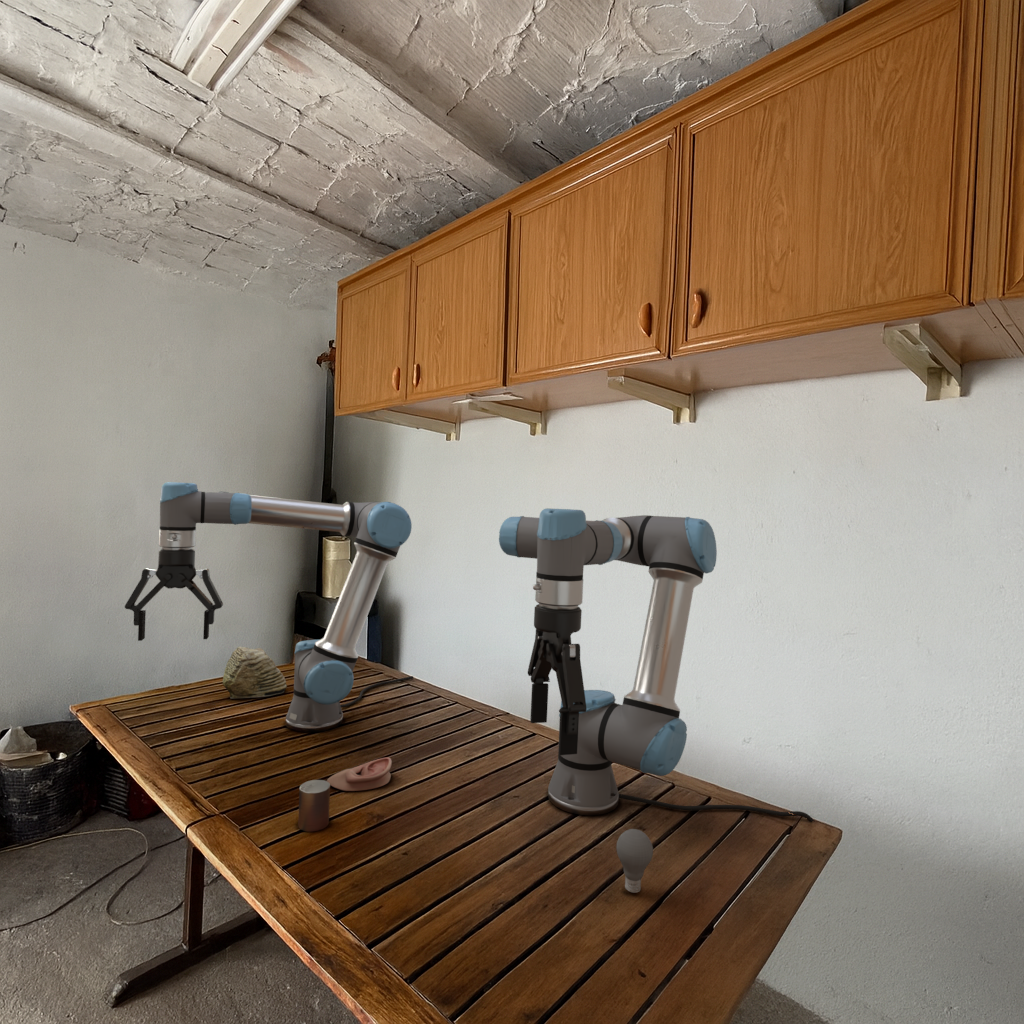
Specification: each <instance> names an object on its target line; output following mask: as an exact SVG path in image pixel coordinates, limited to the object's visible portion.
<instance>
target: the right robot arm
mask: <svg viewBox="0 0 1024 1024" xmlns="http://www.w3.org/2000/svg"><path fill="white" fill-rule="evenodd" d="M498 533H499V535H498V544H499V546H500V549H501V550H502V552H503V553H504V554H505V555H507V556H511V557H516V558H519V559H520V558H525V559H536V574H535V575H536V577H535V579H536V580H535V584H532V589H533V590H534V591H535V594H534V595H535V596H534V598H535V599H534V601H535V602H536V603H537V604H536V605H535V606H534V613H533V614H534V615H533V627H534V629H535V635H534V642H533V646H532V651H531V656H530V660H529V664H528V668H527V675H528V677H530V681H531V683H532V684H531V698H530V700H531V701H530V723H531V724H544V723H548V706H549V705H548V704H549V703H548V702H549V683H550V682H551V679H550V674H551V671H554V672H555V674H556V681H557V685H558V690H559V695H560V707H559V710H558V712H559V713H558V717H559V720H558V721H559V722H558V723H559V724H558V752H557V753H558V755H557V762H556V764H555V768H554V770H553V773H552V776H551V778H550V781H549V782H548V783H549V784H548V788H547V798H548V800H549V802H550V803H551V804H552V805H553V806H555V807H556V808H558V809H560V810H562V811H564V812H567V813H570V814H574V815H581V816H599V815H604V814H608V813H610V812H613V810H616V809H617V807H618V806H619V799H622V800H627V801H631V802H637V803H642V804H647V805H651V806H657V807H661V808H666V809H672V810H679V811H688V812H691V811H693V812H694V811H709V810H711V811H712V810H736V811H737V810H739V811H750V812H755V813H761V814H765V815H771V816H775V817H776V816H777V817H802V818H804V819H806V818H807V819H806V820H807V821H808V822H811V823H813V822H812V821H814V822H815V820H814V818H812V816H811V815H809V814H808V813H806V812H803V811H799V810H795V811H794V810H793V811H778V810H773V809H768V808H764V807H763V808H762V807H756V806H751V805H750V806H749V805H741V804H740V805H739V804H704V805H703V804H702V805H681V804H673V803H668V802H665V801H664V802H663V801H658V800H654V799H648V798H645V797H644V798H643V797H638V796H634V795H628V794H622V793H620V792H619V789H618V786H617V781H616V778H615V774H614V770H613V765H612V763H615V764H618V765H621V766H624V767H627V768H630V769H634V770H637V771H640V772H641V773H643V774H650V775H654V776H659V777H664V776H667V775H669V774H671V772H673V771H674V770H675V768H676V767H677V766H678V764H679V762H680V760H681V758H682V756H683V753H684V751H685V746H686V743H687V738H688V737H687V735H688V733H687V731H688V728H687V724H686V722H685V721H684V720H683V719H682V718H680V715H681V709H680V707H679V705H678V704H677V702H676V700H675V697H676V692H677V688H678V687H677V686H678V682H679V681H678V680H679V675H680V669H681V665H682V664H681V663H682V659H683V652H684V646H685V641H686V634H687V629H688V623H689V618H690V611H691V607H692V600H693V595H694V590H695V588H696V587H698V586H699V585H701V584H702V583H703V579H704V575H705V574H710V573H712V572H713V571H714V570H715V567H716V564H717V556H718V555H717V553H718V552H717V541H716V536H715V532H714V529H713V527H712V525H711V524H710V522H708V521H707V520H705V519H703V518H694V517H690V516H685V517H683V516H682V517H681V516H665V515H663V516H662V515H648V514H647V515H645V514H643V515H631V516H622V517H605V518H604V519H602V520H598V519H597V520H587V516H586V513H585V512H584V510H582V509H574V508H573V509H570V508H543V509H542V510H541V511H540V513H539V517H535V516H533V517H532V516H524V515H520V516H509V517H507V518H506V519H505V520H503V522H502V523H501V525H500V528H499V532H498ZM613 561H618V562H623V563H627V564H632V565H637V566H642V567H648V571H647V572H648V574H649V575H650V577H651V578H652V580H653V583H652V589H651V593H650V597H649V598H650V599H649V603H648V607H647V608H648V609H647V614H646V618H645V624H644V631H643V635H642V641H641V646H640V650H639V656H638V660H637V667H636V672H635V676H634V682H633V688H632V689H631V690H630V691H629V692H628V693H626V694H625V695H624V696H623V699H622V704H619V703H616V700H617V699H616V696H615V694H614V693H612V692H611V691H608V690H603V689H602V690H601V689H585V687H584V686H585V685H584V677H583V670H582V664H581V663H582V662H581V645H580V643H572V637H571V636H572V634H574V633H578V632H580V630H581V628H582V613H583V612H582V611H583V610H582V608H581V607H580V606H581V605H582V604H583V597H584V596H583V595H584V567H585V566H594V565H595V566H596V565H598V566H602V565H605V564H607V563H610V562H613ZM788 812H790V813H793V814H796V815H792V814H789V813H788Z"/></svg>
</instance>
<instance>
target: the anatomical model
mask: <svg viewBox="0 0 1024 1024" xmlns="http://www.w3.org/2000/svg"><path fill="white" fill-rule="evenodd" d="M392 765H393V761H392V758H391V757H388V756H387V757H381V758H377V759H374V760H371V761H368V762H364V763H362V764H360V765H358V766H354V767H351V768H346V769H343V770H341V771H338V772H337V773H335V774H333V775H331V776H330V777H329V778H327V780H326V781H327V782H329V783H330V787H333V788H335V789H337V790H340V791H344V792H355V791H356V792H357V791H358V792H359V791H367V790H372V789H377V788H380V787H383V786H385V785H387V784H388V783H389V782H390V781H391V777H392V775H391V772H390V771H391V769H392Z"/></svg>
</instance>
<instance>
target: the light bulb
mask: <svg viewBox="0 0 1024 1024" xmlns="http://www.w3.org/2000/svg"><path fill="white" fill-rule="evenodd" d="M615 849H616V854H617V857H618V859H619V861H620V863H621V865H622V867H623V873H624V874H623V875H624V876H625V878H624V888H625V890H627V891H628V892H630V893H634V894H635V893H639V892H640V891H641V889H642V887H641V886H642V879H643V877H644V875H645V871H646V868H647V867H648V866H649V864H650V863H651V861H652V859H653V855H654V847H653V843H652V841H651V838H649V836H648V835H647V834H646V833H645V832H643V831H642V830H641V829H636V828H629V829H627V830H625V831H623V832H622V833H621V834H620V835H619V837H618V839H617V841H616V847H615Z"/></svg>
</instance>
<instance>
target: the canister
mask: <svg viewBox="0 0 1024 1024" xmlns="http://www.w3.org/2000/svg"><path fill="white" fill-rule="evenodd" d="M298 793H299V794H298V795H299V796H298V819H297V820H298V821H297V822H298V823H297V826H298V828H299V830H301V831H303V832H311V833H313V832H318V831H321V830H323V829H325V828H327V827H328V825H329V823H330V801H331V800H330V799H331V785H330V783H329V782H327V780H323V779H312V780H308V781H305V782H303V783H302V784H301V785H300V786H299V791H298Z"/></svg>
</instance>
